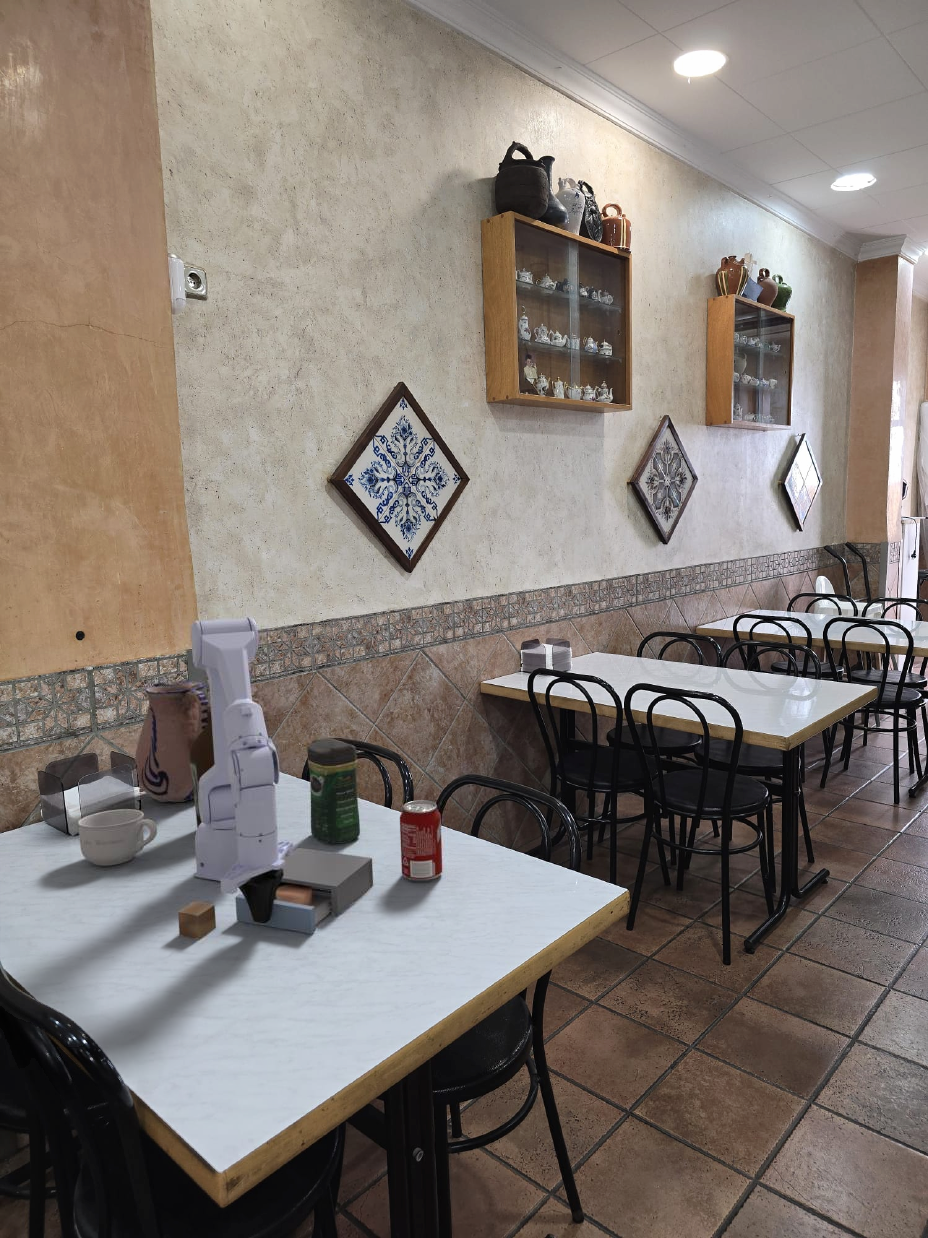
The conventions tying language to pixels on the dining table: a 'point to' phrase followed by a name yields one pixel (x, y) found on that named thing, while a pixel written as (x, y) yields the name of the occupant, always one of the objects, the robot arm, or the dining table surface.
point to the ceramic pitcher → (170, 739)
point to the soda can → (421, 841)
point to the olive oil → (201, 759)
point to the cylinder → (295, 894)
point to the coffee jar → (333, 791)
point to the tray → (291, 912)
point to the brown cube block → (196, 920)
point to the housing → (330, 874)
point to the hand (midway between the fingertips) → (261, 920)
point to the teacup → (114, 836)
